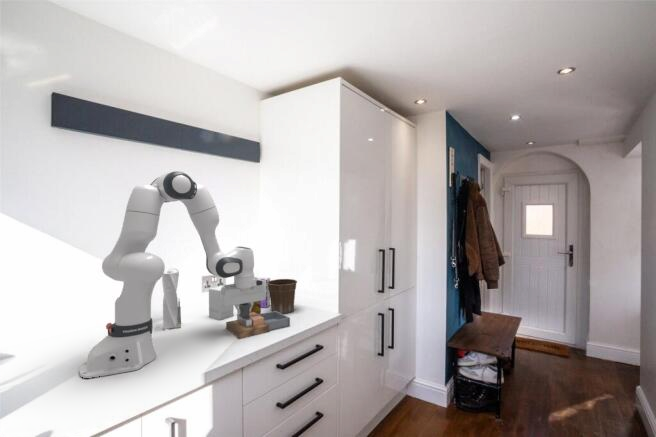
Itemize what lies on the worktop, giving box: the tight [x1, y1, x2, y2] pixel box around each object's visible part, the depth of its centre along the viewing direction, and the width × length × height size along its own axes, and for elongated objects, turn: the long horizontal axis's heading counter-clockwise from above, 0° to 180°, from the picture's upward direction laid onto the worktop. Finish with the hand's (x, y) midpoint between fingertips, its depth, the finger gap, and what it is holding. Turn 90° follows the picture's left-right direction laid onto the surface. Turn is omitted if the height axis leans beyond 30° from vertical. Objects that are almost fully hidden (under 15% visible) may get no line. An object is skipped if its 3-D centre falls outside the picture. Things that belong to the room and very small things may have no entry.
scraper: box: [236, 303, 252, 327], centre depth 145 cm, size 3×11×9 cm, turn 37°
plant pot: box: [267, 278, 298, 315], centre depth 176 cm, size 16×16×16 cm
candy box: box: [248, 276, 271, 309], centre depth 185 cm, size 14×6×16 cm, turn 80°
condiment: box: [250, 301, 262, 314], centre depth 168 cm, size 7×8×12 cm
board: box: [225, 319, 270, 340], centre depth 146 cm, size 14×16×3 cm
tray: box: [258, 311, 291, 332], centre depth 153 cm, size 11×14×4 cm
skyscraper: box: [161, 267, 182, 330], centre depth 150 cm, size 8×8×28 cm
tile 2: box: [249, 315, 264, 327], centre depth 145 cm, size 5×5×3 cm
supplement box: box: [208, 285, 234, 321], centre depth 166 cm, size 9×9×15 cm
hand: (244, 312), depth 145 cm, fingers closed on scraper, 3 cm apart
